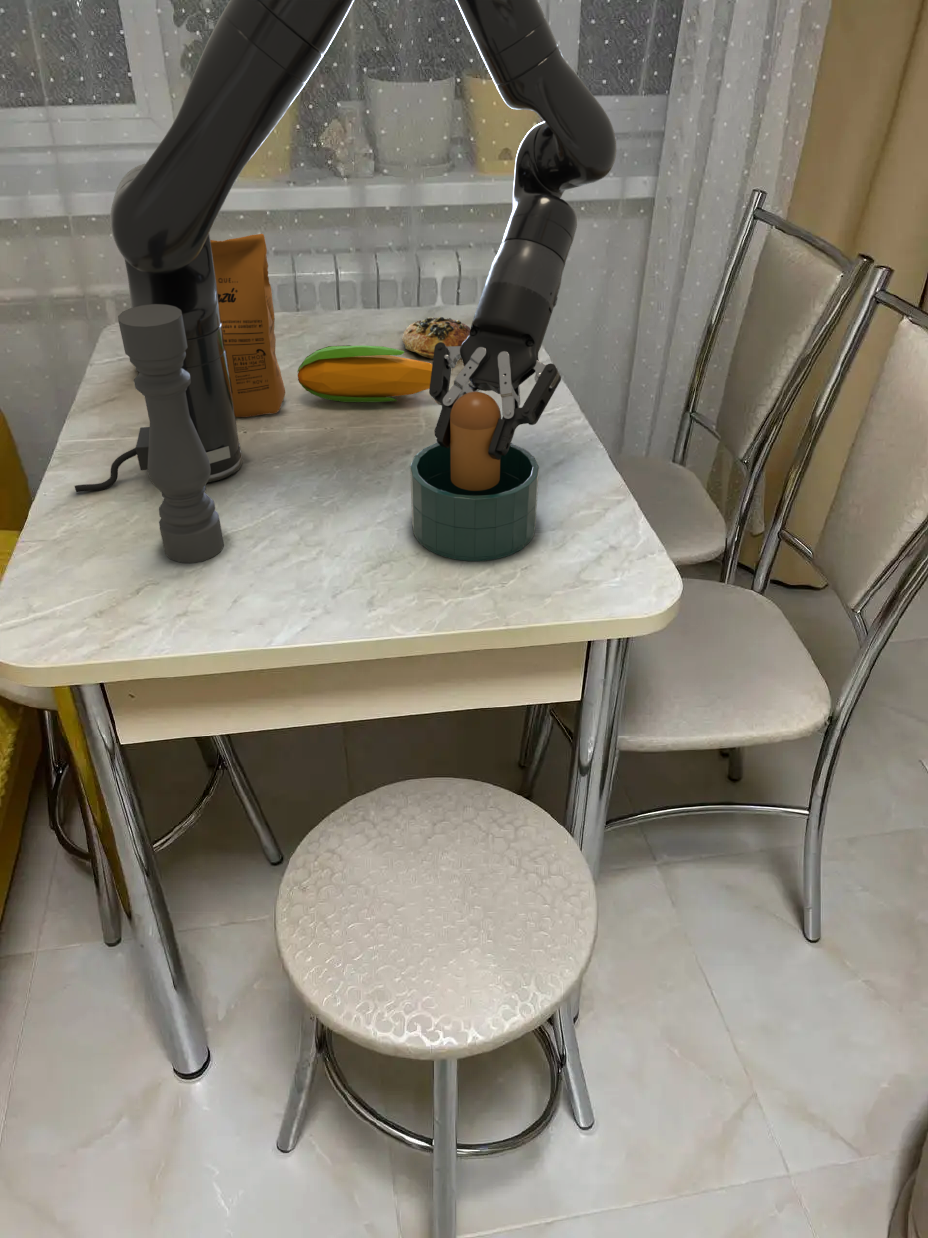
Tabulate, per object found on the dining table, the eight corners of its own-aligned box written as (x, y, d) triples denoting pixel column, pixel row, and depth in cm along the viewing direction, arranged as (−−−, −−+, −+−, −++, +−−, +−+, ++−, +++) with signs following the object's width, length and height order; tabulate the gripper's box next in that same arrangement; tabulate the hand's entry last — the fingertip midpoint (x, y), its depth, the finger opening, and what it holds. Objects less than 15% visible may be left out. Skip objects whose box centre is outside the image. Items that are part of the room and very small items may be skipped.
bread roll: (488, 339, 149) (485, 308, 146) (449, 373, 143) (445, 342, 139) (428, 327, 154) (424, 297, 151) (388, 360, 148) (382, 329, 144)
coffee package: (201, 387, 135) (173, 222, 122) (291, 387, 136) (273, 222, 122) (185, 419, 128) (154, 246, 114) (281, 419, 128) (261, 247, 114)
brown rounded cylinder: (454, 492, 101) (454, 406, 95) (447, 468, 105) (446, 384, 99) (503, 488, 102) (506, 403, 96) (494, 464, 106) (496, 381, 100)
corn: (298, 333, 131) (447, 333, 131) (304, 384, 136) (447, 385, 136) (291, 358, 125) (446, 359, 126) (297, 411, 131) (447, 412, 131)
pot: (420, 566, 101) (419, 503, 96) (406, 500, 112) (404, 441, 107) (547, 555, 103) (551, 493, 98) (521, 491, 113) (523, 433, 109)
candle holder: (199, 524, 107) (157, 298, 92) (236, 544, 104) (199, 313, 89) (152, 548, 103) (100, 316, 88) (189, 569, 100) (142, 333, 85)
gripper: (444, 269, 100) (392, 424, 99) (576, 290, 95) (523, 453, 94) (467, 303, 107) (418, 449, 106) (591, 325, 102) (541, 477, 101)
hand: (468, 450), depth 100 cm, fingers closed on brown rounded cylinder, 5 cm apart
